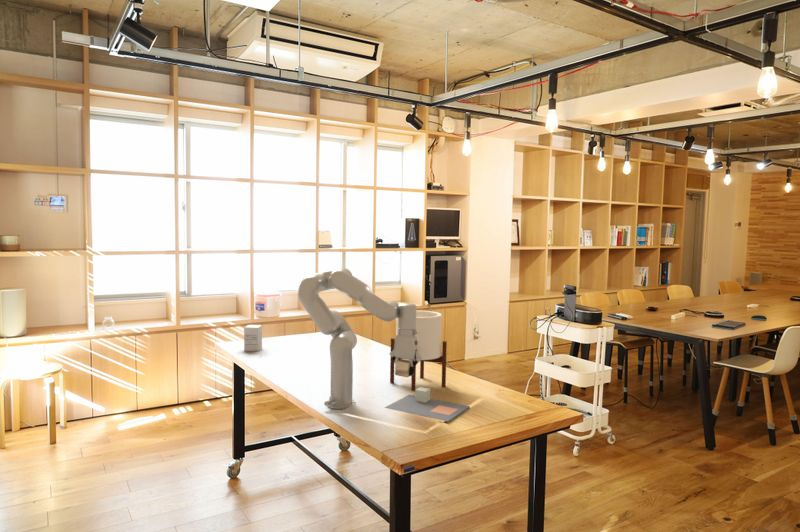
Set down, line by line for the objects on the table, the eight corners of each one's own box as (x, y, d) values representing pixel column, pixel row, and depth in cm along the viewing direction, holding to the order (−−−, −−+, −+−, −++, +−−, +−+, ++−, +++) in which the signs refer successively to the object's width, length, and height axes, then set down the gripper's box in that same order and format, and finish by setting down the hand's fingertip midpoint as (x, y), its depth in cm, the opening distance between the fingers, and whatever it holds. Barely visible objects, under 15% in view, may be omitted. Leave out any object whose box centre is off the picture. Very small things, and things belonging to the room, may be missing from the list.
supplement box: (248, 347, 347) (248, 324, 346) (262, 348, 347) (262, 324, 346) (243, 351, 338) (243, 327, 337) (258, 351, 338) (258, 327, 337)
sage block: (425, 402, 241) (425, 391, 241) (415, 400, 243) (415, 389, 243) (430, 399, 245) (430, 388, 245) (420, 397, 248) (420, 386, 247)
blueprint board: (447, 423, 218) (447, 421, 218) (384, 409, 233) (384, 407, 233) (469, 408, 237) (469, 406, 237) (409, 396, 252) (409, 394, 252)
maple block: (407, 377, 230) (407, 363, 230) (395, 374, 233) (395, 361, 233) (414, 374, 235) (414, 360, 235) (402, 372, 238) (402, 358, 238)
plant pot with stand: (412, 394, 256) (413, 318, 254) (386, 382, 275) (387, 312, 272) (449, 387, 269) (451, 315, 266) (422, 376, 287) (424, 309, 285)
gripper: (428, 333, 232) (426, 375, 233) (393, 328, 240) (391, 368, 242) (420, 336, 225) (418, 379, 226) (384, 330, 234) (382, 371, 235)
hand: (404, 373), depth 234 cm, fingers closed on maple block, 6 cm apart
